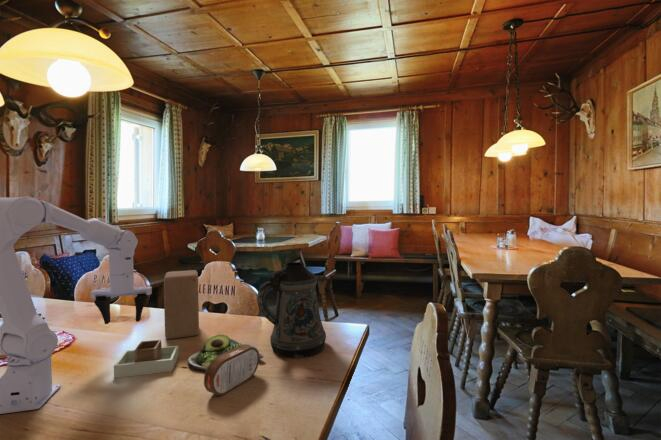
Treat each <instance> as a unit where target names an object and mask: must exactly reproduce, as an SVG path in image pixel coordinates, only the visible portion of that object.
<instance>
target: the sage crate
mask: <svg viewBox="0 0 661 440" xmlns="http://www.w3.org/2000/svg"><path fill="white" fill-rule="evenodd" d="M134 350H135V349H127V350H125V351H124V352H123V353H122V355H121V356H120V357H119V358H118V359H117V361H116V362H115V363H114V365H113V378H114V379H117V378H124V377H125V378H126V377H132V376H133V377H134V376H143V375H150V374H158V373H169V372H173V371H174V368H175V366H176V363H177V362H178V358H179V345H168V346H162V358H161V360H155V361H145V362H136V363H135V358H134Z"/></svg>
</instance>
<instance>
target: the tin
mask: <svg viewBox="0 0 661 440" xmlns="http://www.w3.org/2000/svg"><path fill="white" fill-rule="evenodd" d="M243 344H244V345H241V346H239V347H237V348H235V349H232V350H230V351H228V352H226V353H224V354H221V355H219V356H217V357H216V358H215V359H214V360H213V361H212V362H211V363H210V365H209V366H208V368H207V370H206V371H205V373H204V376H203V386H204V389H205V390H206V391H207V392H209V393H212V394H214V395H217V396H223V395H225V394H227V393H228V392H231V391H232V390H234V389H235V388H237V387H240V385H242V384H244V383H247V381H249V380H250V379H251V378H252V377H253V376H254V375H255V374H256V371H257V369H258V367H259V362H260V361H259V354H260V353H259V352H260V351H259V352H258V350H259V349H258V350H257V349H256V348H254V347H252V346H250V345H251V344H250V345H248V344H247V343H243Z"/></svg>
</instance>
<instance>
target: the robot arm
mask: <svg viewBox="0 0 661 440" xmlns="http://www.w3.org/2000/svg"><path fill="white" fill-rule="evenodd" d="M40 223H43V224H44V223H50V224H51V225H52V224H53V225H56V226H60V227H62V228H65V229H69V230H72V231H75V232H77V233H79V235H80V237H81V239H83V240H85V241H88V242H91V243H94V244H97V245H100V246H103V247H104V249H105V250H108V263H109V264H108V266H109V268H108V269H109V287H108V288H102V289H101V288H100V289H94V290H91V291H90V298H91V299H95V300H93V301H94V302H93V303H94V305H95V306H96V307H97V309H98V311H99V312H100V314H101V316H102V319H103V323H104V325H108V324H109V323H111V299H112V298H113V297H126V296H128V297H131V296H135V297H134V298H133V299H134V301H133V302H134V305H135V322H136V323H138V322H140V321H141V319H142V314H143V309H144V307H145V303H146V302H147V299H148V297H149V296H151V295H152V293H153V286H135V281H134V280H135V277H134V275H135V273H134V255H135V250H136V247H137V245H138V242H139V239H137V236H136V235H135V233H134V232H133V231H131V230H129V229H125V230H124V229H121V227H120V226H119V225H113V224H110V223H108V222H105V219H104V218H102V217H96V218H95V217H92V218H91V217H90V218H89V219H85V218H82V217H80V216H78V215H75V214H74V213H71V212H70V211H67V210H65V209H62V208H60V207H58V206H56V205H54V204H51V203H50V202H47V201H44V200H39V199H37V198H34V197H32V196H20V197H5V196H0V315H1V318H2V320H3V321H2V322H3V323H2V324H1V325H0V350H1V351H2V353H4V354H5V355H6V357H7V359H6V360H7V361H6V362H7V364H6V370H5V372H4V373H3V374H2V376H0V415H1V414H9V413H17V412H25V411H33V410H37V409H40V408H41V407H42V406H43V405H44V404H45V403H46V402H47V401H48V400H49V399H50V398H51V397H53V395H54V394H55V393H56V392H57V391H58V390H59V389H60V388H61V387H62V385H61V384H59V383H58V384H53V376H52V375H53V373H52V371H53V369H52V356H53V355H52V354H53V353H54V352H55V350H56V349H57V346H58V342H59V340H58V339H59V338H58V335H57V334H56V332H54V331H53V330H51V329H50V327H49V325H48V322H47V321H46V320H44V319H43V317H41V315H39V313H37V310H36V307H35V305H34V302H33V299H32V295H31V293H30V291H29V287H28V284H27V281H26V278H25V276H24V273H23V270H22V267H21V265H20V262H19V260H18V257H17V253H16V251H15V248H14V245H15V243H17V242H18V240H19V239H20V238H21V237H22V236H23V235H24V234H26V233H28V231H31V229H33V228H35V227H36V226H37V225H40Z"/></svg>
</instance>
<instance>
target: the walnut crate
mask: <svg viewBox="0 0 661 440" xmlns="http://www.w3.org/2000/svg"><path fill="white" fill-rule="evenodd" d="M162 347H163V346H162V339H154V340H153V339H152V340H142V341H140V343H138V345H137V346H136V347H135V349H133V350H134V358H135V363H136V362H145V361H155V360H161V358H162Z"/></svg>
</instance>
